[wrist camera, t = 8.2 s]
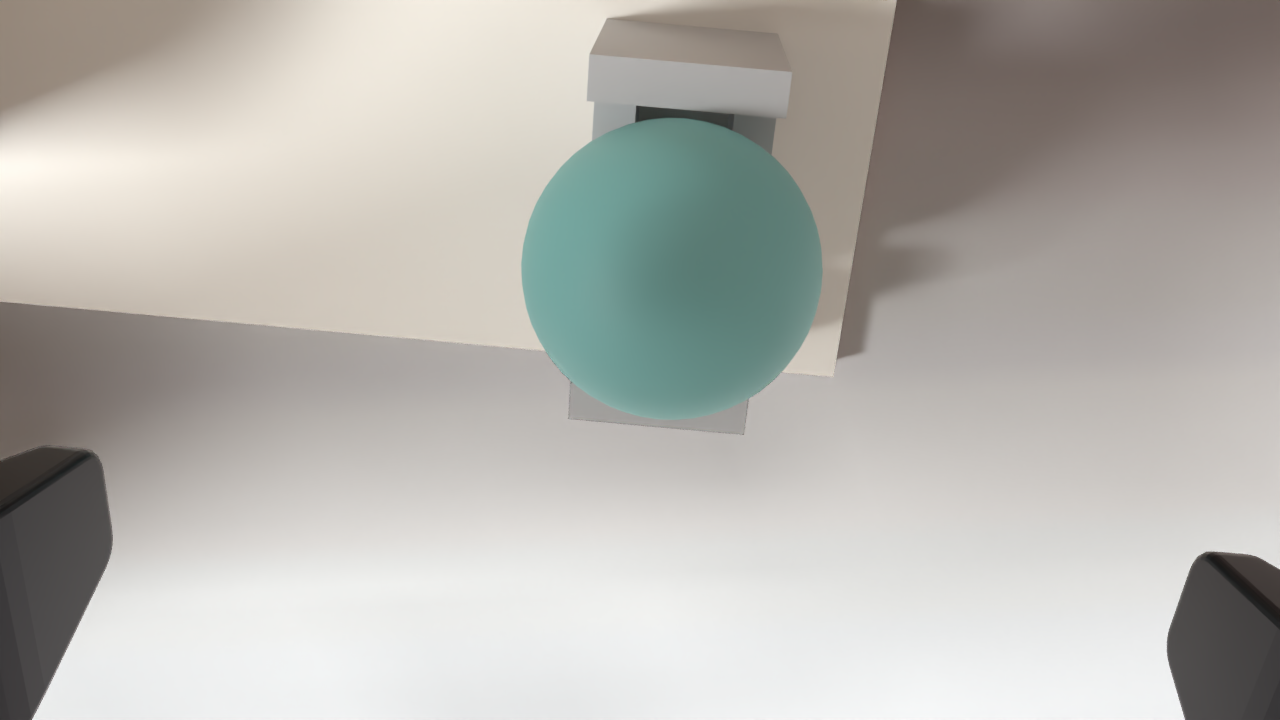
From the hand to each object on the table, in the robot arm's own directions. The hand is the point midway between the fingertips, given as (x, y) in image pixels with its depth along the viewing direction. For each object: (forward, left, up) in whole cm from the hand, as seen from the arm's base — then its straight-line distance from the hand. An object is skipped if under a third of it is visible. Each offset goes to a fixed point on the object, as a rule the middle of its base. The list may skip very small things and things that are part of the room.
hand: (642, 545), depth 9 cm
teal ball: (0, 0, -6) cm, 6 cm away
